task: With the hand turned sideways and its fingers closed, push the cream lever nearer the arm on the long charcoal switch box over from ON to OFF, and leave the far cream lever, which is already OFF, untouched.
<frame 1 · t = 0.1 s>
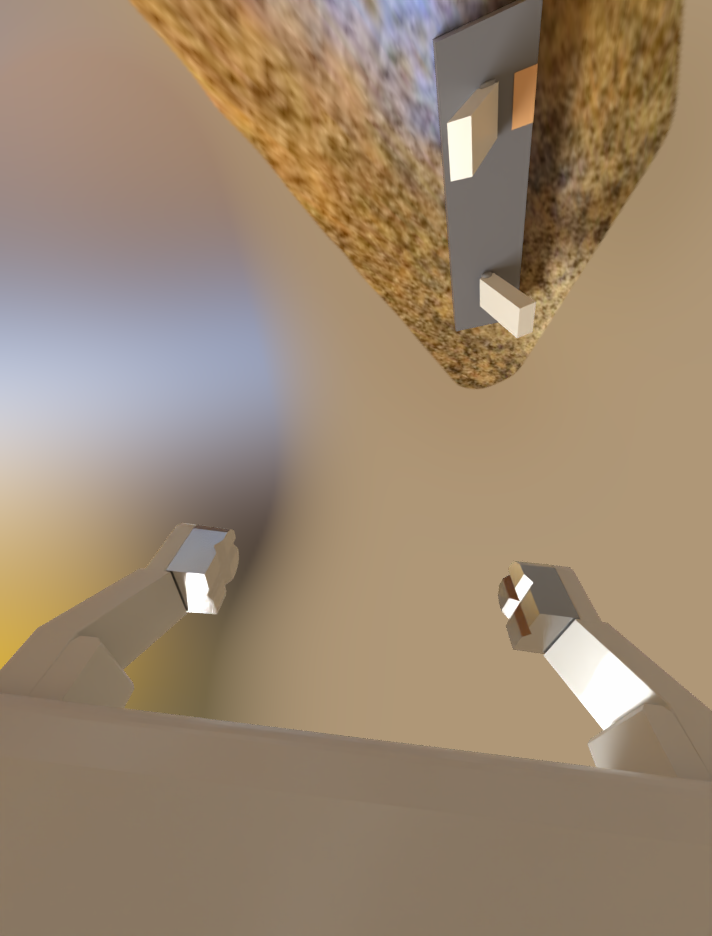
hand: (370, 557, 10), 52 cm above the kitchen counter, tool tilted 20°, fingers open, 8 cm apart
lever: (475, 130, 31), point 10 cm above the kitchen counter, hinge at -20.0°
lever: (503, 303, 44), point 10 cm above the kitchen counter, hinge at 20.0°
switch box: (481, 200, 44), on the kitchen counter
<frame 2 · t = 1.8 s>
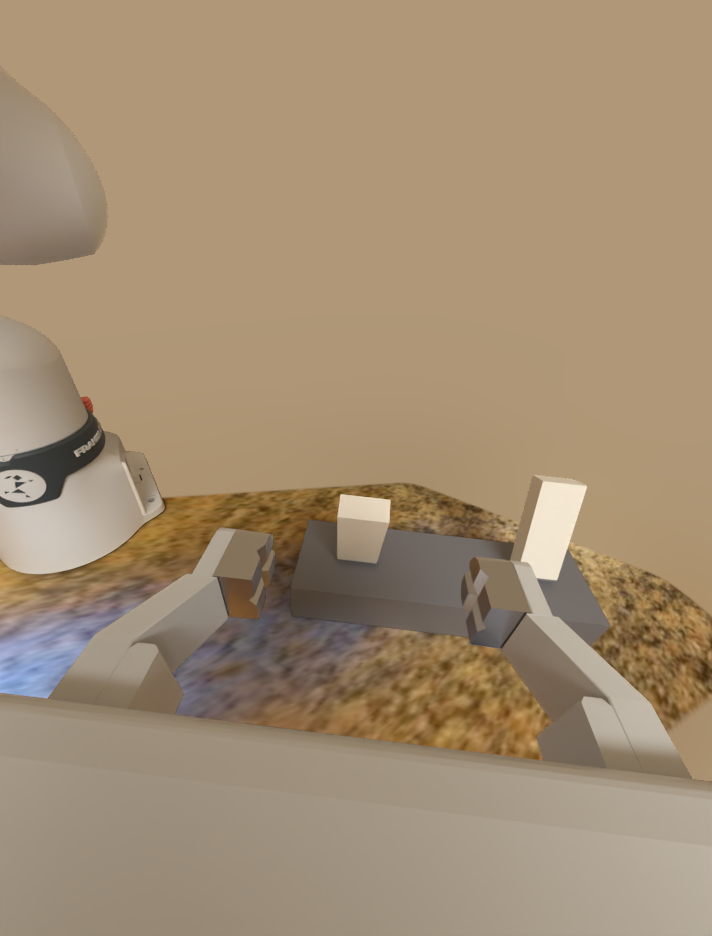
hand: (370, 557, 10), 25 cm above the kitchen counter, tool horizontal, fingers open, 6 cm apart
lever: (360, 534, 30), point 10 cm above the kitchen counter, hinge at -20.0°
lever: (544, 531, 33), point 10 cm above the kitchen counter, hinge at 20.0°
switch box: (432, 594, 37), on the kitchen counter
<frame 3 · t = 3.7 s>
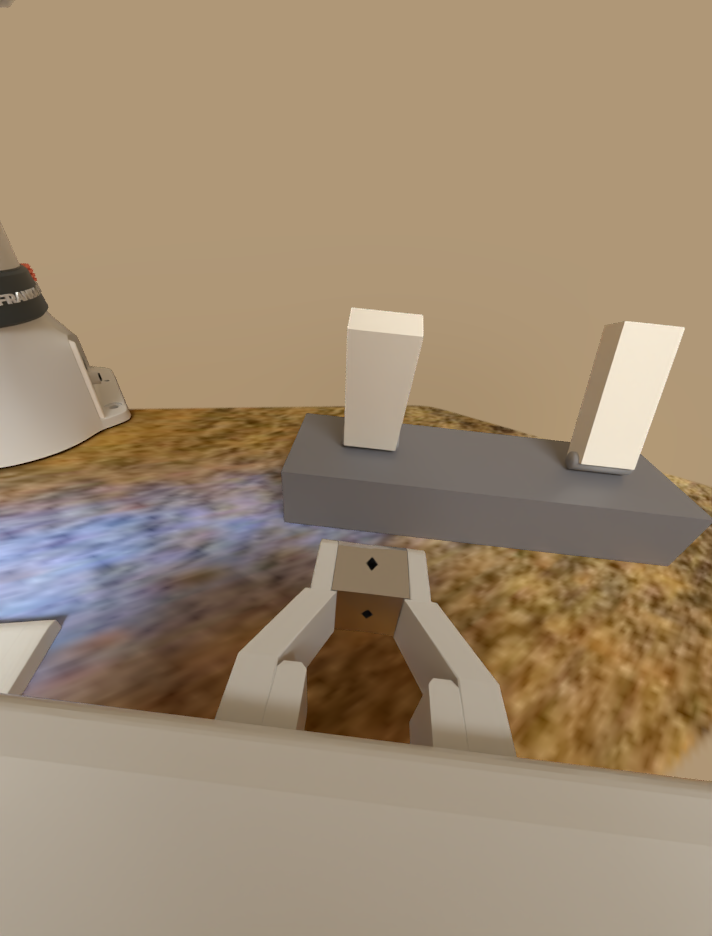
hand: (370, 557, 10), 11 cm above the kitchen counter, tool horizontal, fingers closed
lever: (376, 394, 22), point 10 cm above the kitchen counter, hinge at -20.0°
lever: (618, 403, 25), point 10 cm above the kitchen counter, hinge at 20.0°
switch box: (463, 504, 29), on the kitchen counter
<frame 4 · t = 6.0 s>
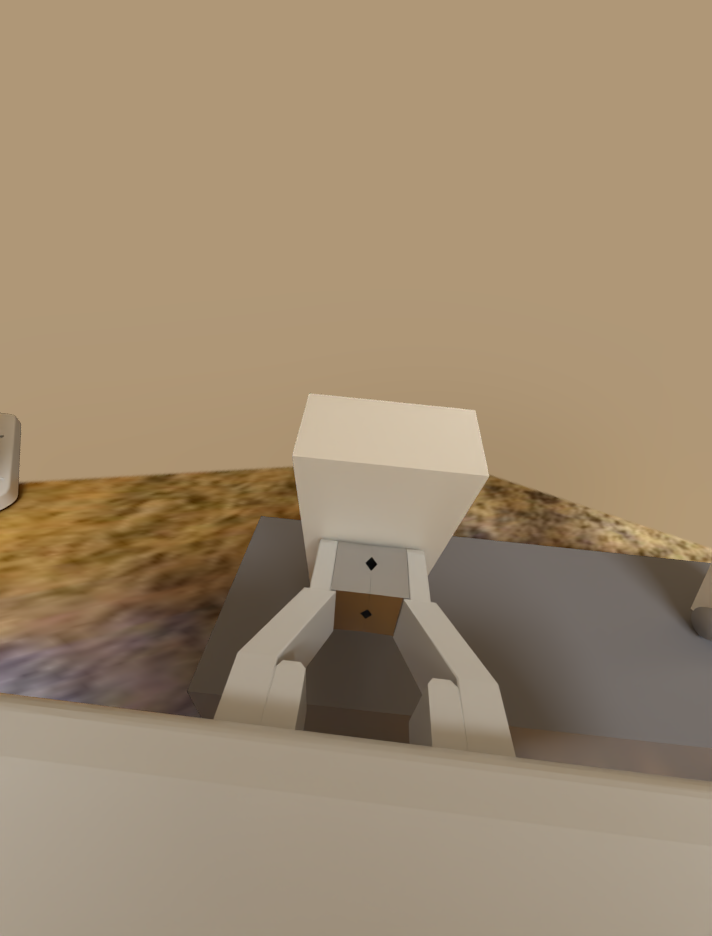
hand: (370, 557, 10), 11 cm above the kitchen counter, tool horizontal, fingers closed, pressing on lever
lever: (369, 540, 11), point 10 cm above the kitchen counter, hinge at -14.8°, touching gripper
switch box: (511, 664, 18), on the kitchen counter
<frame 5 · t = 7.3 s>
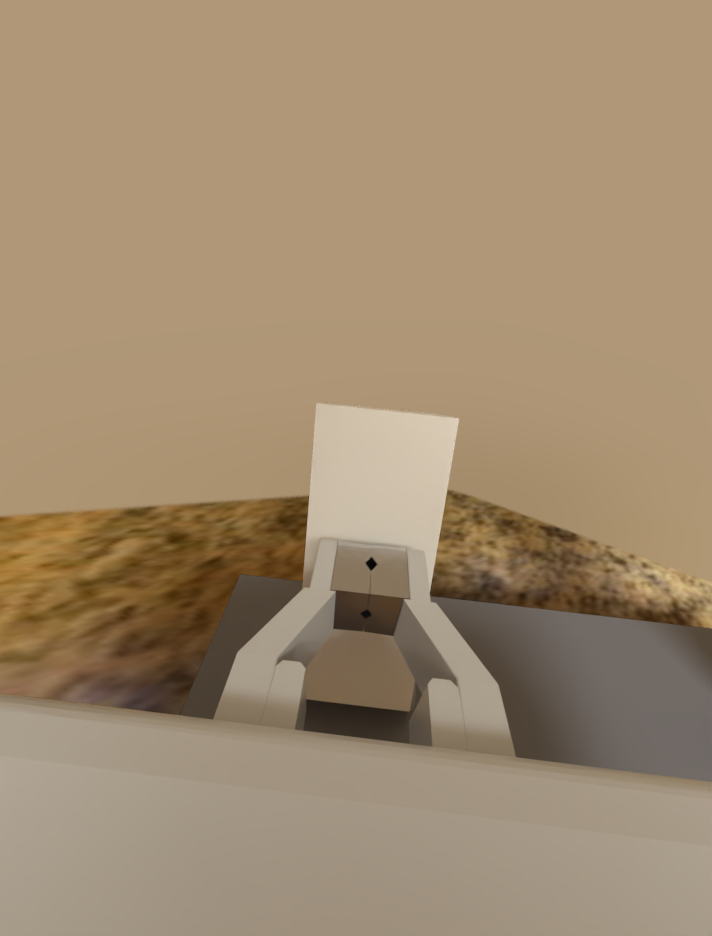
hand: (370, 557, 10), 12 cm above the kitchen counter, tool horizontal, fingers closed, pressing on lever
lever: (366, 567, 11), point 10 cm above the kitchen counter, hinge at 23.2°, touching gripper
switch box: (534, 757, 16), on the kitchen counter
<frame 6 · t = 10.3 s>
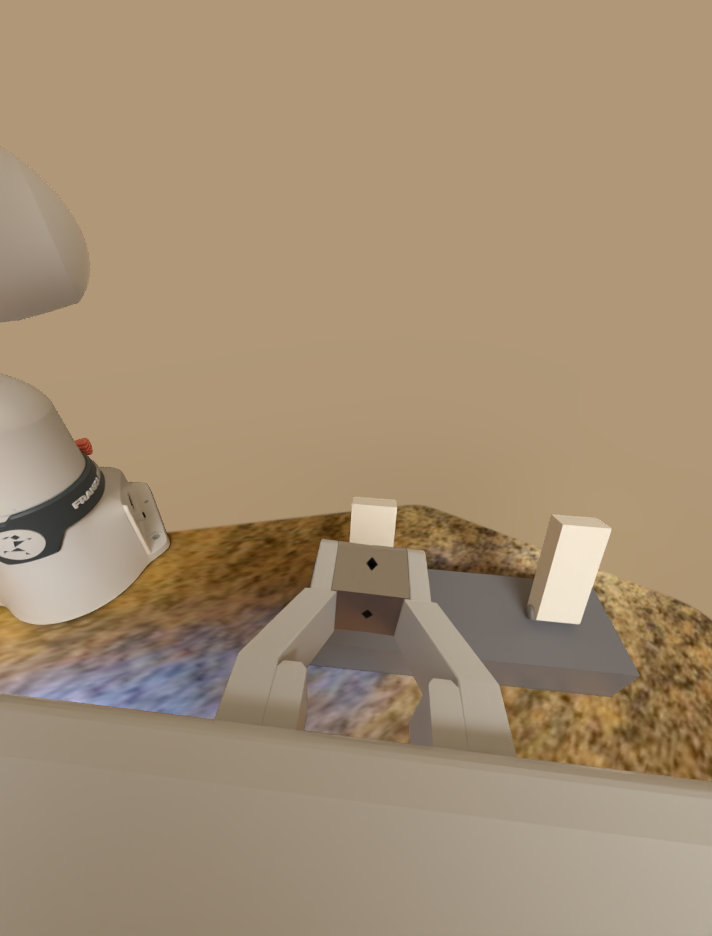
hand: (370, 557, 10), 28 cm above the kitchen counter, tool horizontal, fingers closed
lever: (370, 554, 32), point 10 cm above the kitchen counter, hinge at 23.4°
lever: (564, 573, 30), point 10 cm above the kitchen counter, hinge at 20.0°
switch box: (446, 633, 36), on the kitchen counter
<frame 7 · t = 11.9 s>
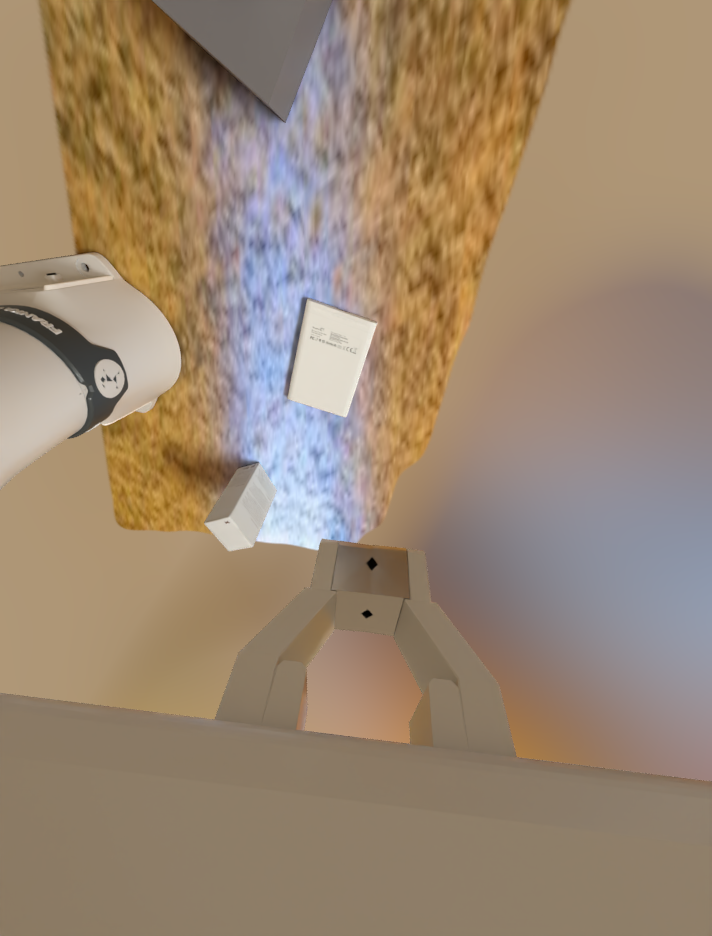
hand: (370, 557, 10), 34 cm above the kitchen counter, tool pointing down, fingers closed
external hard drive: (330, 359, 42), on the kitchen counter
skincare box: (258, 478, 53), on the kitchen counter
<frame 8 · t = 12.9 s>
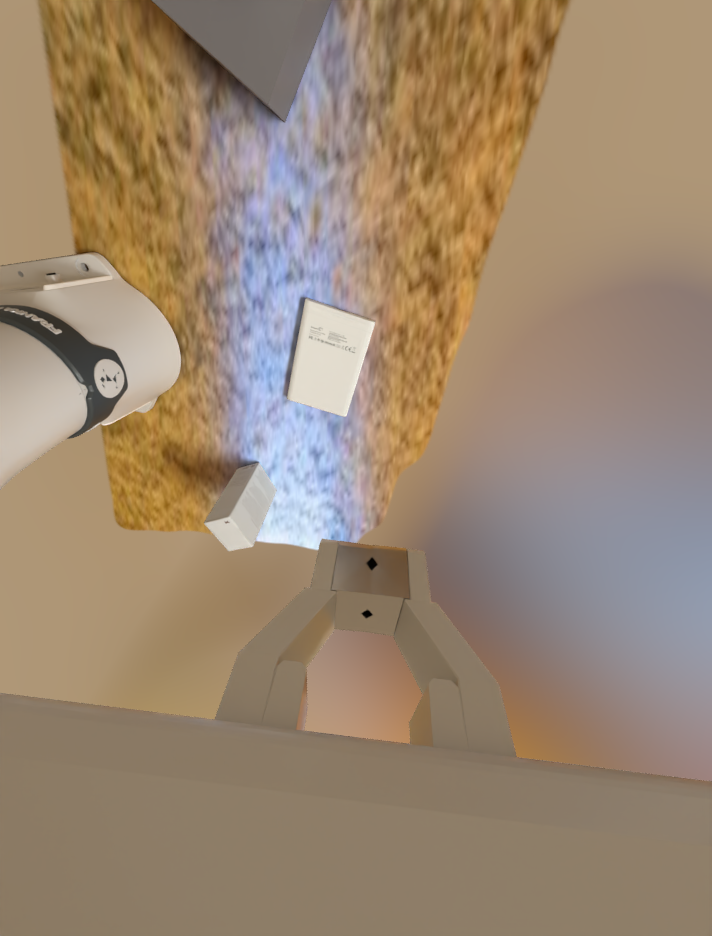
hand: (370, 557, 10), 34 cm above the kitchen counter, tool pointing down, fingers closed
external hard drive: (329, 359, 42), on the kitchen counter
skincare box: (258, 478, 53), on the kitchen counter
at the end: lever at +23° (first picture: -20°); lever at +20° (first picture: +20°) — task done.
